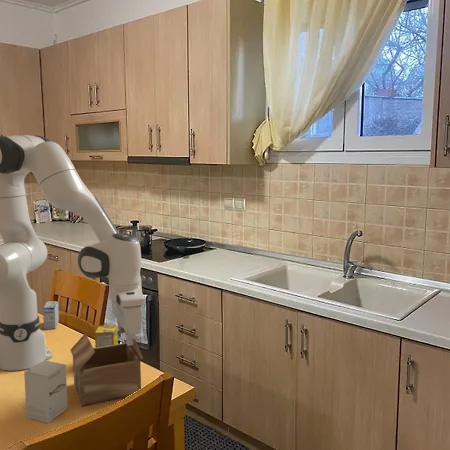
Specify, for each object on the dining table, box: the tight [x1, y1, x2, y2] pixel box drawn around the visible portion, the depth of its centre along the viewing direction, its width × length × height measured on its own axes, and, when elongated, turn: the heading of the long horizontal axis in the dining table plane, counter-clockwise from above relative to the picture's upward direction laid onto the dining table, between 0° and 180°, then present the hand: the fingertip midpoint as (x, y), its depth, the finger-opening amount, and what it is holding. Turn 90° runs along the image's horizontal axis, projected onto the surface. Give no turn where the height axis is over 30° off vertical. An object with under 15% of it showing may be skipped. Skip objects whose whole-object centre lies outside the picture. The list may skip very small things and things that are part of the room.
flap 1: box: [70, 333, 95, 370], centre depth 133 cm, size 14×6×1 cm
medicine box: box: [42, 300, 60, 330], centre depth 185 cm, size 8×4×9 cm, turn 10°
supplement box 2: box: [94, 325, 119, 348], centre depth 155 cm, size 6×6×11 cm
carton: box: [72, 342, 142, 408], centre depth 136 cm, size 14×16×10 cm
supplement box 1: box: [23, 360, 68, 424], centre depth 123 cm, size 7×7×13 cm
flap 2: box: [124, 332, 144, 360], centre depth 138 cm, size 14×6×1 cm
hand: (125, 338), depth 137 cm, fingers open, 8 cm apart
